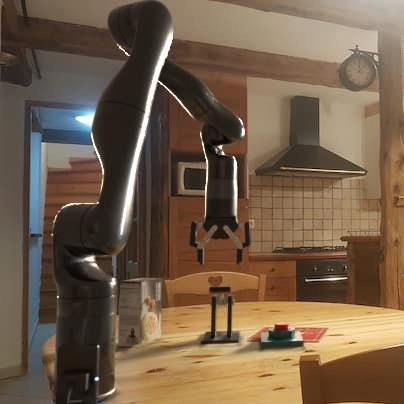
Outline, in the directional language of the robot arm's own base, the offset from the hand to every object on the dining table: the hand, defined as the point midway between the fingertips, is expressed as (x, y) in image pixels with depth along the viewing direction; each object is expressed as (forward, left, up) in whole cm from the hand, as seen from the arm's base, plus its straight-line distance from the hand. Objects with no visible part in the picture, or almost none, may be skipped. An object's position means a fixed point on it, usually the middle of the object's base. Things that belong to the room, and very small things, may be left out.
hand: (220, 264), depth 126 cm
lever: (+4, 0, -9) cm, 10 cm away
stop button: (+2, -15, -17) cm, 23 cm away
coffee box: (+10, +20, -21) cm, 30 cm away
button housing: (+2, -15, -20) cm, 25 cm away
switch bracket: (+9, 0, -20) cm, 22 cm away
